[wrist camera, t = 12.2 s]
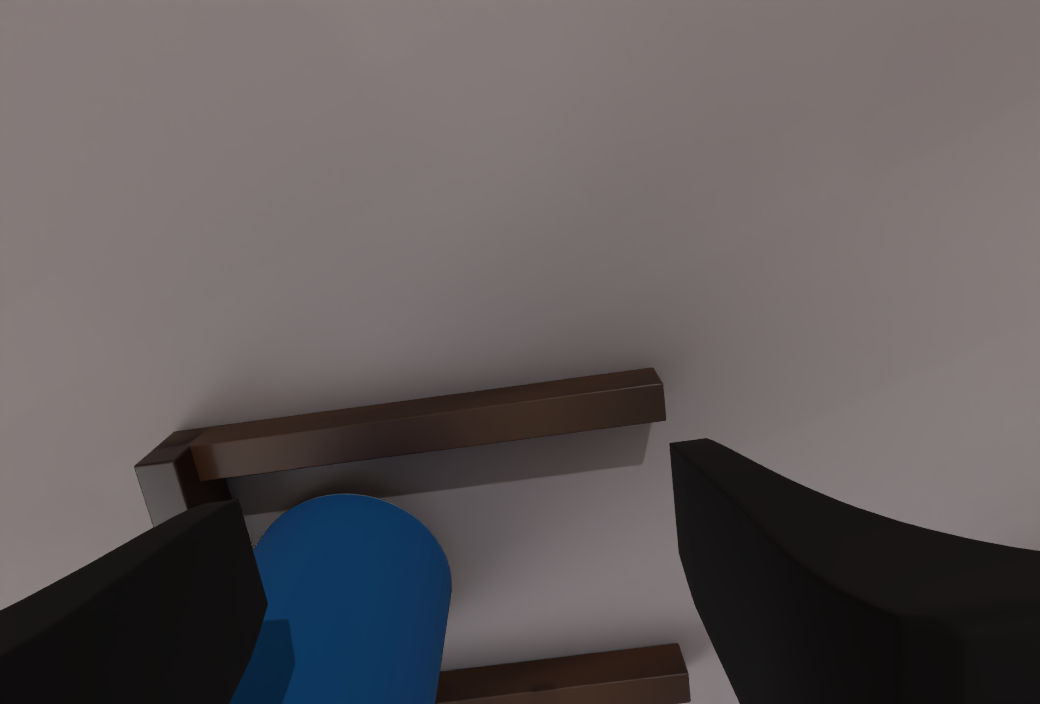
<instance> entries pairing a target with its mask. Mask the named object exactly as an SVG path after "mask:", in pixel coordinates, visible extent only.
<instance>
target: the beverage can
mask: <svg viewBox="0 0 1040 704" xmlns="http://www.w3.org/2000/svg"><path fill="white" fill-rule="evenodd" d="M253 552H254V556H255V559H256V563H257V566H258V570H259V573H260V577H261V580H262V584H263V587H264V591H265V595H266V598H267V602H268V606H267V609H266V613H265V616H264V619H263V623H262V626H261V630H260V633H259V636H258V639H257V642H256V645H255V648H254V651H253V654H252V657H251V659H250V661H249V663H248V666H247V668H246V670H245V672H244V674H243V676H242V678H241V681H240V683H239V685H238V687H237V689H236V691H235V693H234V695H233V697H232V699H231V701H230V703H229V704H435V701H436V694H437V688H438V681H439V674H440V667H441V660H442V653H443V646H444V639H445V632H446V625H447V618H448V612H449V605H450V598H451V574H450V568H449V565H448V561H447V558H446V556H445V553H444V551H443V549H442V547H441V545H440V544H439V542H438V541H437V539H436V538H435V536H434V535H433V534H432V533H431V531H430V530H429V529H428V528H427V527H426V526H425V525H424V524H423V523H422V522H421V521H420V520H419V519H417V518H416V517H415V516H413V515H412V514H411V513H409V512H408V511H406V510H404V509H403V508H401V507H399V506H397V505H395V504H393V503H390V502H388V501H385V500H382V499H379V498H375V497H371V496H367V495H359V494H332V495H325V496H321V497H316V498H313V499H310V500H308V501H305V502H302V503H300V504H298V505H296V506H295V507H293V508H291V509H289V510H288V511H287V512H285V513H284V514H282V515H281V516H280V517H279V518H278V519H277V520H276V521H274V522H273V523H272V524H271V526H270V527H269V528H268V529H267V531H266V532H265V533H264V535H263V536H262V538H261V539H260V541H259V543H258V544H257V546H256V547H255V549H254V550H253Z"/></svg>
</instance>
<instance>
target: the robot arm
mask: <svg viewBox="0 0 1040 704" xmlns="http://www.w3.org/2000/svg"><path fill="white" fill-rule="evenodd" d="M669 445H670V456H671V468H672V479H673V491H674V503H675V514H676V526H677V537H678V549H679V555H680V558H681V562H682V565H683V568H684V572H685V575H686V579H687V582H688V585H689V588H690V591H691V595H692V598H693V601H694V604H695V606H696V609H697V611H698V613H699V615H700V618H701V620H702V622H703V624H704V626H705V629H706V631H707V633H708V635H709V637H710V640H711V642H712V644H713V646H714V648H715V651H716V653H717V655H718V657H719V659H720V661H721V664H722V666H723V668H724V670H725V672H726V674H727V677H728V679H729V681H730V683H731V685H732V687H733V690H734V692H735V694H736V696H737V698H738V700H739V703H740V704H1040V551H1035V550H1029V549H1022V548H1016V547H1009V546H1004V545H999V544H994V543H988V542H983V541H978V540H973V539H968V538H964V537H960V536H956V535H951V534H947V533H943V532H939V531H934V530H930V529H926V528H922V527H918V526H915V525H911V524H907V523H904V522H900V521H897V520H894V519H891V518H888V517H885V516H882V515H878V514H875V513H872V512H869V511H866V510H863V509H860V508H857V507H854V506H852V505H849V504H846V503H844V502H841V501H838V500H836V499H833V498H831V497H829V496H826V495H824V494H822V493H819V492H817V491H814V490H812V489H810V488H807V487H805V486H803V485H801V484H799V483H796V482H794V481H792V480H790V479H788V478H786V477H784V476H782V475H780V474H777V473H775V472H774V471H772V470H770V469H768V468H766V467H764V466H762V465H760V464H758V463H756V462H754V461H752V460H750V459H748V458H746V457H744V456H743V455H741V454H739V453H737V452H735V451H733V450H731V449H729V448H727V447H725V446H723V445H721V444H719V443H717V442H715V441H713V440H710V439H708V438H705V439H697V440H689V441H682V442H674V443H669ZM267 606H268V602H267V598H266V595H265V591H264V587H263V584H262V580H261V577H260V573H259V570H258V566H257V563H256V559H255V556H254V552H253V548H252V545H251V541H250V538H249V534H248V531H247V527H246V524H245V520H244V517H243V513H242V509H241V506H240V502H239V499H236V500H229V501H221V502H213V503H206V504H201V505H199V506H196V507H193V508H191V509H189V510H186V511H184V512H182V513H180V514H178V515H176V516H174V517H172V518H170V519H168V520H166V521H164V522H163V523H161V524H159V525H157V526H155V527H153V528H152V529H150V530H148V531H146V532H145V533H143V534H141V535H139V536H137V537H136V538H134V539H132V540H130V541H129V542H127V543H125V544H123V545H122V546H120V547H118V548H116V549H114V550H113V551H111V552H109V553H107V554H106V555H104V556H102V557H100V558H99V559H97V560H95V561H93V562H92V563H90V564H88V565H86V566H84V567H82V568H81V569H79V570H77V571H75V572H73V573H71V574H69V575H68V576H66V577H64V578H62V579H60V580H58V581H56V582H54V583H53V584H51V585H49V586H47V587H45V588H43V589H41V590H40V591H38V592H36V593H34V594H32V595H30V596H28V597H27V598H25V599H23V600H21V601H19V602H17V603H15V604H13V605H11V606H9V607H7V608H5V609H3V610H1V611H0V704H229V703H230V701H231V699H232V697H233V695H234V693H235V691H236V689H237V687H238V685H239V683H240V681H241V678H242V676H243V674H244V672H245V670H246V668H247V666H248V663H249V661H250V659H251V657H252V654H253V651H254V648H255V645H256V642H257V639H258V636H259V633H260V630H261V626H262V623H263V619H264V616H265V613H266V609H267Z"/></svg>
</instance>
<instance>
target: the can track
mask: <svg viewBox="0 0 1040 704" xmlns="http://www.w3.org/2000/svg"><path fill="white" fill-rule="evenodd" d="M665 420H666V411H665V399H664V388H663V383H662V381H661V379H660V378H659V376H658V375H657V373H656V371H655V370H654V368H646V369H639V370H631V371H624V372H616V373H609V374H601V375H594V376H587V377H579V378H572V379H564V380H557V381H549V382H542V383H534V384H527V385H519V386H512V387H504V388H497V389H489V390H482V391H475V392H467V393H460V394H452V395H445V396H437V397H430V398H422V399H415V400H407V401H400V402H392V403H385V404H378V405H370V406H363V407H355V408H348V409H340V410H333V411H325V412H318V413H310V414H303V415H295V416H288V417H280V418H273V419H266V420H258V421H251V422H243V423H236V424H228V425H221V426H213V427H206V428H198V429H191V430H183V431H176V432H173V433H172V434H171V435H170V436H169V437H167V438H166V439H165V440H164V441H163V442H162V443H160V444H159V445H158V446H157V447H156V448H155V449H153V450H152V451H151V452H150V453H149V454H148V455H147V456H145V457H144V458H143V459H142V460H141V461H139V462H138V463H137V464H136V465H135V466H134V468H135V471H136V474H137V477H138V480H139V484H140V487H141V490H142V493H143V496H144V499H145V502H146V505H147V508H148V511H149V514H150V517H151V521H152V524H153V527H155V526H157V525H159V524H161V523H163V522H164V521H166V520H168V519H170V518H172V517H174V516H176V515H178V514H180V513H182V512H184V511H186V510H189V509H191V508H193V507H196V506H199V505H201V504H206V503H213V502H221V501H229V500H231V498H230V495H229V491H228V488H227V484H226V481H225V478H232V477H240V476H247V475H255V474H262V473H270V472H278V471H285V470H293V469H300V468H308V467H316V466H323V465H331V464H339V463H346V462H354V461H361V460H369V459H377V458H384V457H392V456H399V455H407V454H415V453H422V452H430V451H438V450H445V449H453V448H460V447H468V446H476V445H483V444H491V443H498V442H506V441H514V440H521V439H529V438H536V437H544V436H552V435H559V434H567V433H575V432H582V431H590V430H597V429H605V428H613V427H620V426H628V425H635V424H643V423H651V422H658V421H665ZM690 701H691V699H690V687H689V676H688V671H687V668H686V665H685V662H684V659H683V656H682V653H681V649H680V646H679V644H678V643H675V644H667V645H659V646H651V647H642V648H634V649H626V650H617V651H609V652H601V653H592V654H584V655H576V656H568V657H559V658H551V659H543V660H534V661H526V662H518V663H509V664H501V665H493V666H485V667H476V668H468V669H460V670H451V671H443V672H440V674H439V681H438V688H437V694H436V701H435V704H679V703H687V702H690Z"/></svg>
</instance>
